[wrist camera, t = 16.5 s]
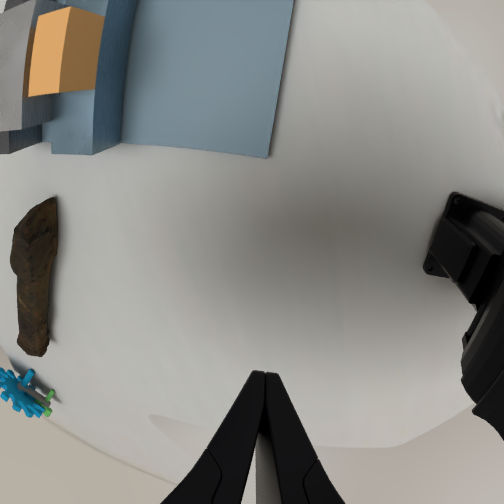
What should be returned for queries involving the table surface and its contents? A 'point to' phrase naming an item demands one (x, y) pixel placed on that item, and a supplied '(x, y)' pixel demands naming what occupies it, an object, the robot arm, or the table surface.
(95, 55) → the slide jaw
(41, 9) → the steel block
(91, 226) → the table surface
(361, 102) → the table surface
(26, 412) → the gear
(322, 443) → the table surface
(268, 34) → the vise
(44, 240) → the brown wooden stick
